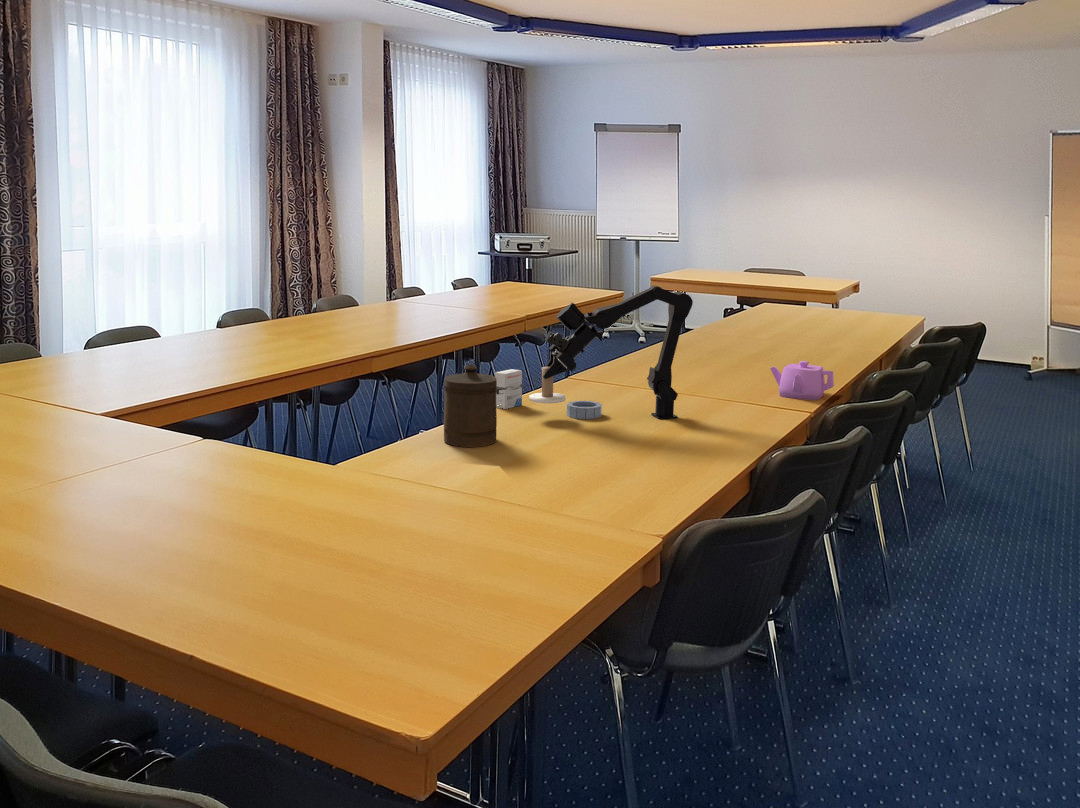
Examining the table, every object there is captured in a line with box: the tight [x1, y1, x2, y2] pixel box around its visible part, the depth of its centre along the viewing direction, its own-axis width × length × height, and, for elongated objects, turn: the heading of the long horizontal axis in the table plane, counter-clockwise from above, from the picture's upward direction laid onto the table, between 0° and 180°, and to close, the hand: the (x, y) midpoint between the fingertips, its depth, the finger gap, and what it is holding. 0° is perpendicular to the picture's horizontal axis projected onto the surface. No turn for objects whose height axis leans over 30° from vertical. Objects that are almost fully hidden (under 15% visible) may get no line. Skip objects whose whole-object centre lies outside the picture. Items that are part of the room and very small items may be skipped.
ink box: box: [494, 368, 523, 410], centre depth 312 cm, size 8×5×12 cm, turn 141°
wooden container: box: [443, 363, 498, 448], centre depth 268 cm, size 15×15×22 cm
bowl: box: [566, 400, 603, 420], centre depth 302 cm, size 11×11×4 cm
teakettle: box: [769, 360, 835, 401], centre depth 335 cm, size 17×17×12 cm
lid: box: [528, 366, 566, 404], centre depth 295 cm, size 11×11×10 cm
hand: (543, 376), depth 294 cm, fingers closed on lid, 3 cm apart
